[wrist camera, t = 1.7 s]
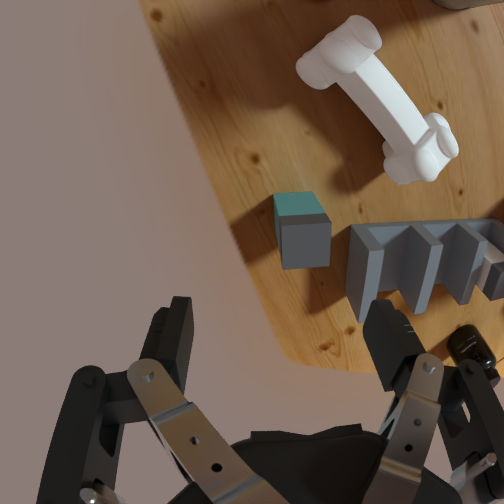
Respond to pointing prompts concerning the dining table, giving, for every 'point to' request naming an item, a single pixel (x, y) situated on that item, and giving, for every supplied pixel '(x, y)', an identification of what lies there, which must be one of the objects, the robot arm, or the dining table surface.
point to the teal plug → (301, 230)
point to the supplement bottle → (473, 351)
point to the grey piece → (417, 259)
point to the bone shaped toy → (380, 101)
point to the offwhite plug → (492, 273)
